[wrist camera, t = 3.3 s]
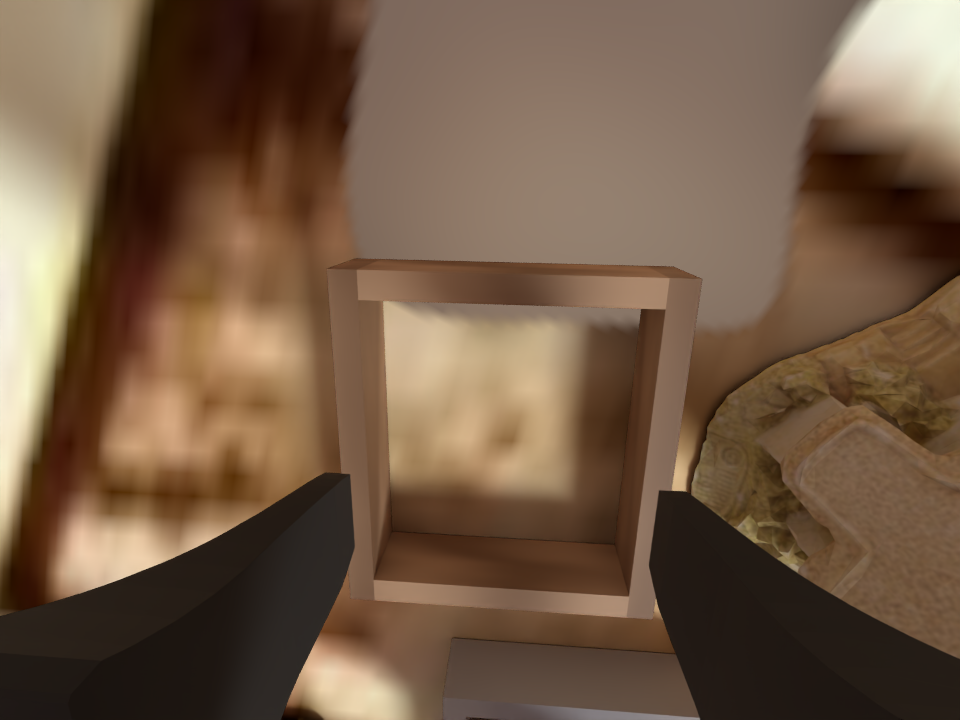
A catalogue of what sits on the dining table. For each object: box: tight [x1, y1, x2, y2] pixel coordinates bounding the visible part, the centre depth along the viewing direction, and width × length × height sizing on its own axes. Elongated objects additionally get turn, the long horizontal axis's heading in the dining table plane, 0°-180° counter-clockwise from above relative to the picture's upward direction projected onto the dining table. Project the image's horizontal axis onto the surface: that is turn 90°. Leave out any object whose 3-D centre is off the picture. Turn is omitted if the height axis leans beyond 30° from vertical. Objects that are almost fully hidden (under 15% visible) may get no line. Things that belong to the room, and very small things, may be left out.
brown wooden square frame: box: [327, 259, 702, 619], centre depth 16 cm, size 10×11×2 cm
